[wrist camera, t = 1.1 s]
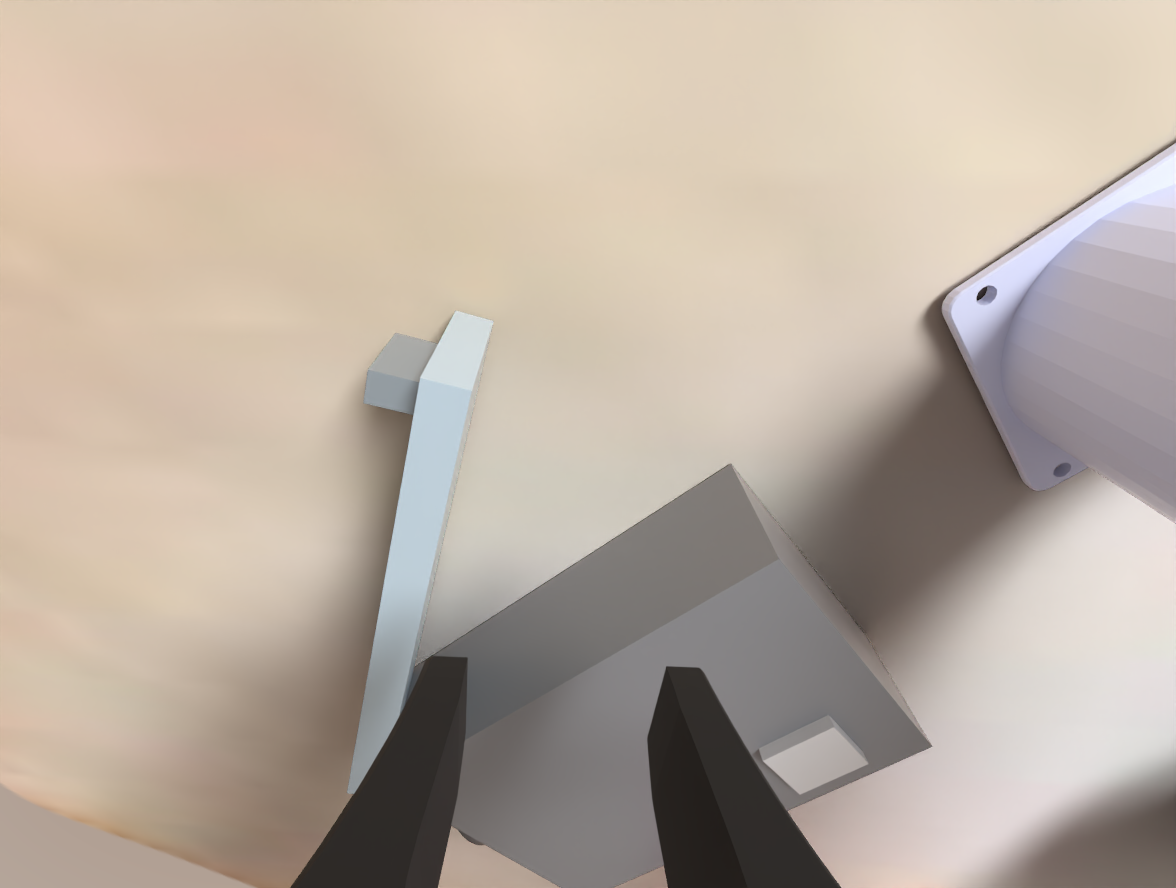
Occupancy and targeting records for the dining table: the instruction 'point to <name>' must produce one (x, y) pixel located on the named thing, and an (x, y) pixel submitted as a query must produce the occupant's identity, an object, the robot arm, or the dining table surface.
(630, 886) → the dining table surface
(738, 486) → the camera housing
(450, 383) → the side door
